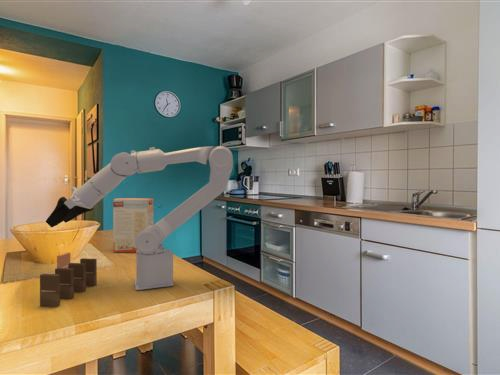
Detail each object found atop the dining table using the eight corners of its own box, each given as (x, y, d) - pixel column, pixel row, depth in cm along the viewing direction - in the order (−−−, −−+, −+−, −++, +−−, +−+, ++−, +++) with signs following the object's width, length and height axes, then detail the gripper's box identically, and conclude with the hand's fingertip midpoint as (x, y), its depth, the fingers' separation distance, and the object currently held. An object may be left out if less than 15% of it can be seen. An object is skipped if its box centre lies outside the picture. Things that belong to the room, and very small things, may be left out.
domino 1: (43, 304, 68) (43, 273, 68) (60, 305, 68) (60, 274, 68) (40, 306, 67) (39, 275, 67) (56, 307, 67) (56, 275, 67)
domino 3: (58, 296, 73) (58, 267, 73) (73, 297, 72) (73, 268, 72) (55, 298, 72) (55, 269, 72) (70, 299, 71) (70, 269, 71)
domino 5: (82, 284, 82) (82, 258, 82) (96, 284, 81) (96, 258, 81) (80, 285, 81) (80, 259, 81) (94, 286, 80) (94, 259, 80)
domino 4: (71, 290, 77) (71, 262, 77) (85, 290, 77) (85, 263, 77) (68, 291, 76) (68, 263, 76) (83, 292, 76) (83, 264, 76)
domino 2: (70, 276, 88) (70, 252, 88) (60, 281, 84) (60, 256, 84) (67, 276, 88) (67, 252, 88) (56, 281, 84) (56, 255, 84)
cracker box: (153, 250, 122) (154, 198, 122) (147, 253, 116) (147, 199, 116) (120, 249, 123) (120, 197, 123) (112, 252, 117) (112, 198, 117)
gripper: (96, 175, 86) (58, 207, 85) (75, 175, 72) (29, 214, 71) (114, 194, 87) (76, 225, 86) (96, 197, 73) (51, 236, 72)
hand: (56, 221), depth 78 cm, fingers open, 7 cm apart
